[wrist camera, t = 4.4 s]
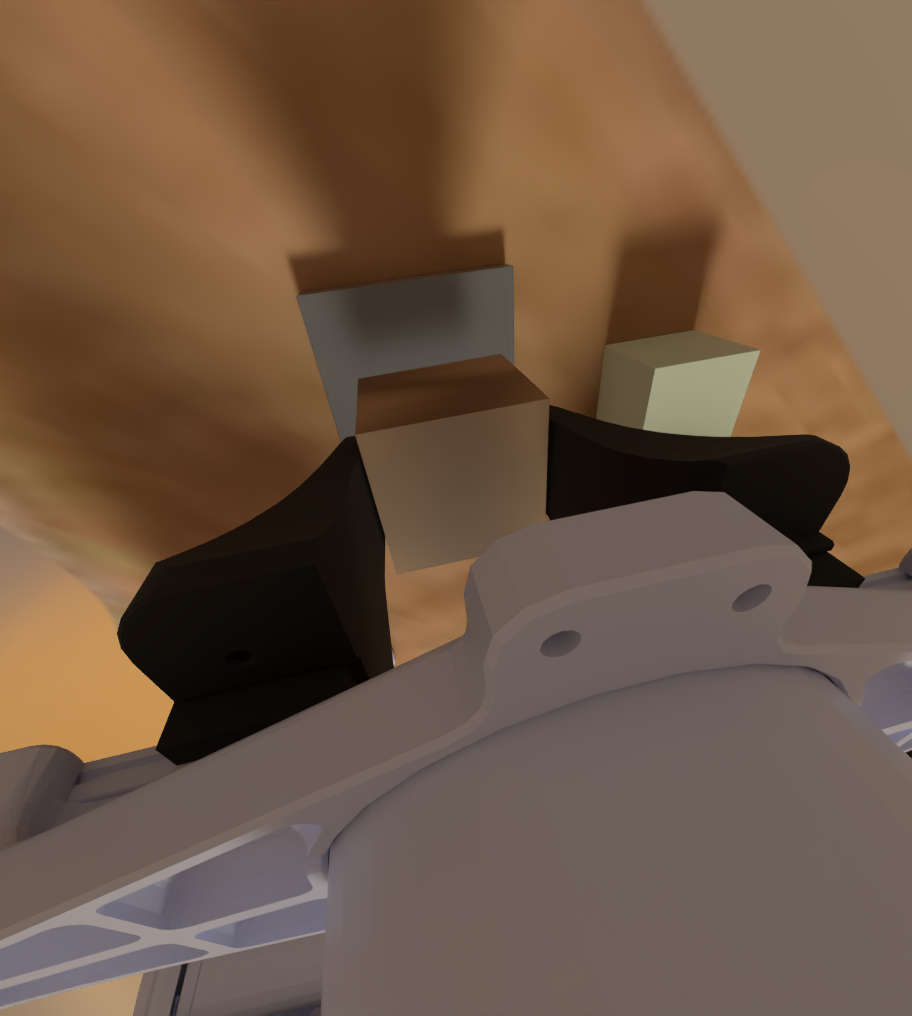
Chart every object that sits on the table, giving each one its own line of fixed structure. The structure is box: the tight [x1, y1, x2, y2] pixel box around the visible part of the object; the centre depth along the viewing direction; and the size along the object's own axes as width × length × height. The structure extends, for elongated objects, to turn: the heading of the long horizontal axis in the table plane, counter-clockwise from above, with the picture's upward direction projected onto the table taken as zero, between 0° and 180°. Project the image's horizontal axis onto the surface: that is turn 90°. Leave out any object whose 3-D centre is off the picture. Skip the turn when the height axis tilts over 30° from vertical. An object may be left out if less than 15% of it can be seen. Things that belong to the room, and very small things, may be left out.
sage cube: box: [596, 330, 760, 437], centre depth 18 cm, size 4×4×4 cm
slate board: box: [296, 264, 514, 442], centre depth 17 cm, size 8×8×1 cm
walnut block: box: [355, 354, 549, 574], centre depth 12 cm, size 4×4×4 cm
